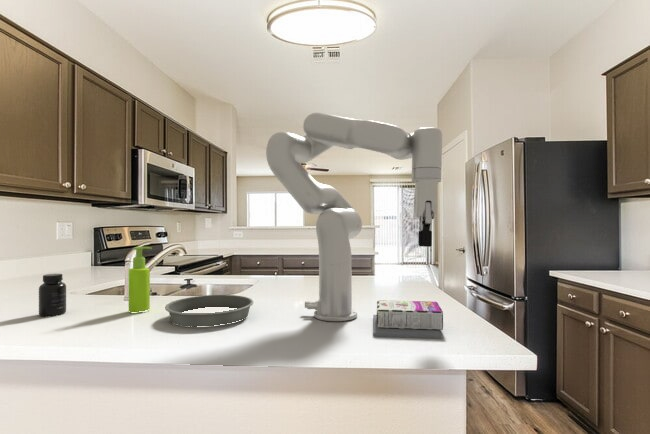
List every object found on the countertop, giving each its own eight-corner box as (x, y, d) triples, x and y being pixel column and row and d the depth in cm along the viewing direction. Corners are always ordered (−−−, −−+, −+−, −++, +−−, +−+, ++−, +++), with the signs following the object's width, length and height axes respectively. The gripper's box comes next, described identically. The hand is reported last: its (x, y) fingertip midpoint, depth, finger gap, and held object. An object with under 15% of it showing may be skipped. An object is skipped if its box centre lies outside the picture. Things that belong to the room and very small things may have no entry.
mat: (373, 336, 93) (373, 332, 93) (373, 317, 111) (373, 314, 111) (441, 338, 91) (441, 335, 91) (430, 319, 109) (430, 316, 109)
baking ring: (144, 326, 103) (144, 309, 103) (198, 306, 127) (198, 292, 127) (226, 333, 97) (226, 315, 97) (267, 311, 120) (267, 296, 120)
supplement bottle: (33, 315, 114) (33, 275, 114) (56, 310, 120) (56, 272, 121) (48, 318, 112) (48, 276, 112) (71, 312, 118) (71, 273, 118)
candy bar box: (437, 319, 106) (377, 316, 108) (437, 301, 106) (377, 298, 108) (443, 331, 95) (376, 328, 97) (443, 311, 94) (376, 308, 97)
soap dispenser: (156, 309, 121) (156, 246, 121) (135, 314, 115) (135, 247, 116) (145, 307, 124) (145, 245, 125) (124, 311, 119) (124, 247, 119)
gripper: (409, 178, 109) (407, 243, 109) (414, 172, 94) (413, 248, 94) (436, 179, 108) (435, 244, 108) (446, 173, 93) (444, 249, 93)
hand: (424, 246), depth 101 cm, fingers closed
